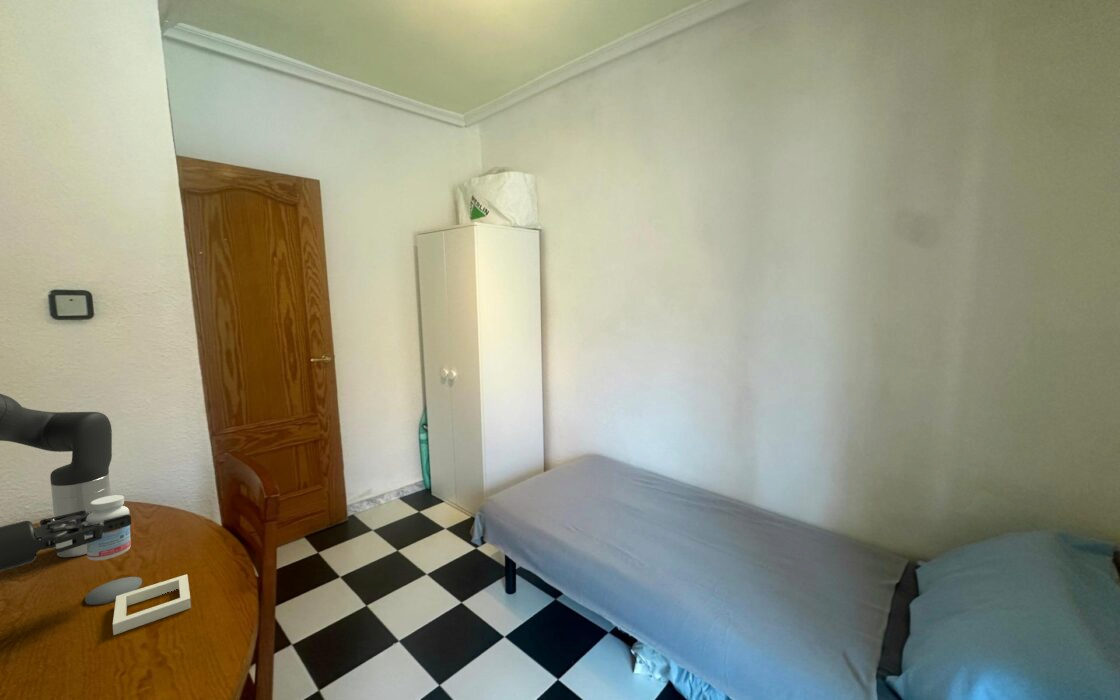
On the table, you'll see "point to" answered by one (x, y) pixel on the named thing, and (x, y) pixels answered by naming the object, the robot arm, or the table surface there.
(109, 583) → the coaster
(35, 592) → the table surface
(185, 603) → the holder
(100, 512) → the pill bottle
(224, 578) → the table surface
